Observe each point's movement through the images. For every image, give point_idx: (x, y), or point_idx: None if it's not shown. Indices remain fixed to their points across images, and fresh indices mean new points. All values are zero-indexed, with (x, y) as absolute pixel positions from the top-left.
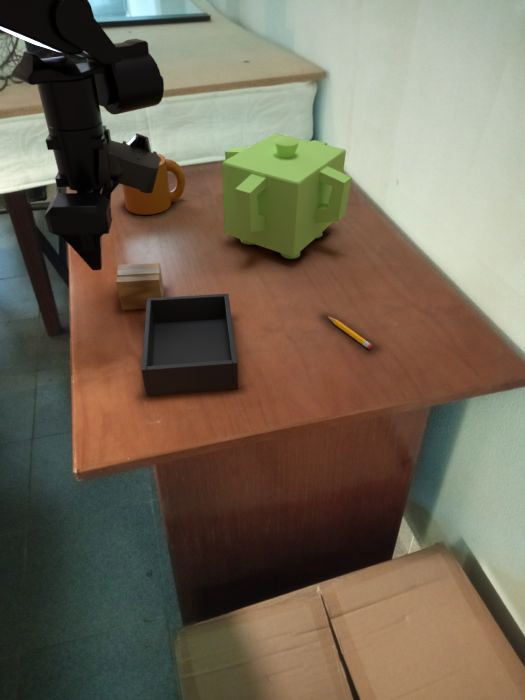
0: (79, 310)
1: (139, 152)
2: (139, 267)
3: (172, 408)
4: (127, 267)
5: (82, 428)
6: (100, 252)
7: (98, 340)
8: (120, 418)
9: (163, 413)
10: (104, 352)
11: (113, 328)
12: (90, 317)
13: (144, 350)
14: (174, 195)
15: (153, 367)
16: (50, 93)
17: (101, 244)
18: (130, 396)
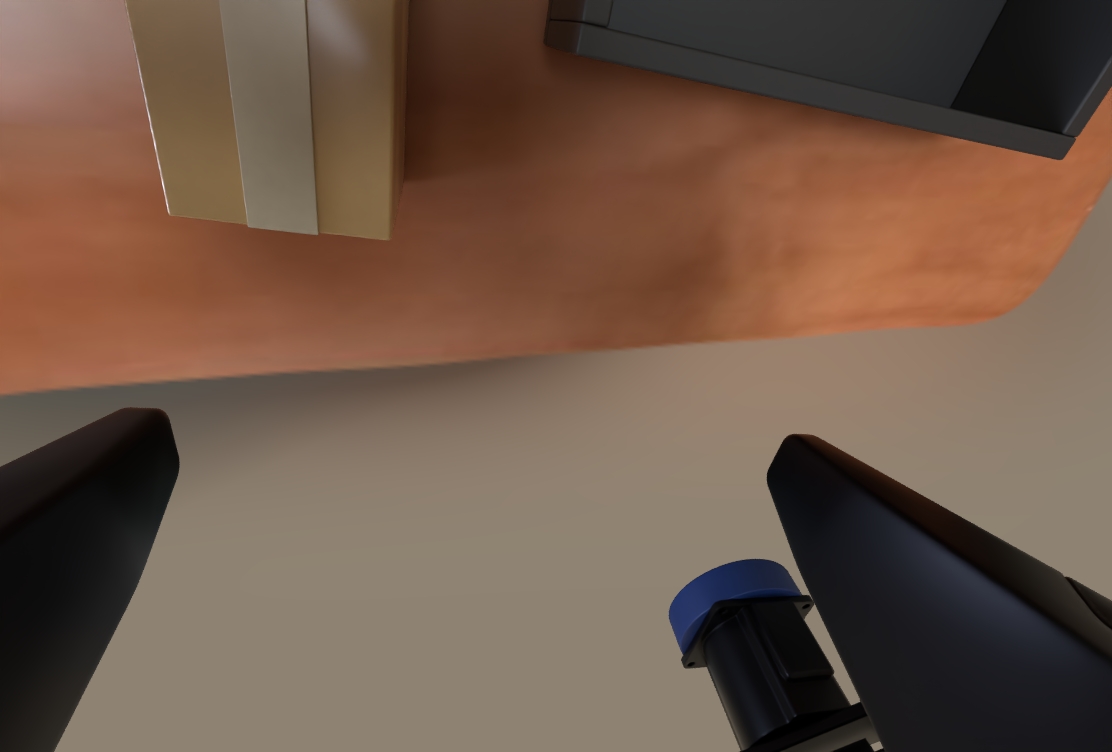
0: (378, 354)
1: None
2: (195, 59)
3: None
4: (202, 157)
5: (921, 319)
6: (1027, 554)
7: (585, 284)
8: (959, 223)
9: None
10: (659, 264)
11: (528, 228)
12: (433, 314)
13: (974, 132)
14: None
15: (1089, 104)
16: None
17: (1044, 598)
18: (902, 187)
